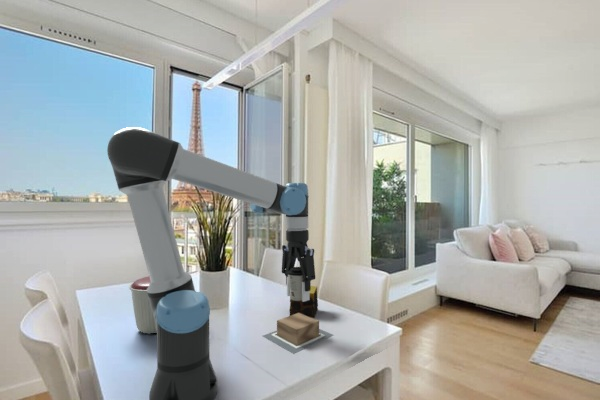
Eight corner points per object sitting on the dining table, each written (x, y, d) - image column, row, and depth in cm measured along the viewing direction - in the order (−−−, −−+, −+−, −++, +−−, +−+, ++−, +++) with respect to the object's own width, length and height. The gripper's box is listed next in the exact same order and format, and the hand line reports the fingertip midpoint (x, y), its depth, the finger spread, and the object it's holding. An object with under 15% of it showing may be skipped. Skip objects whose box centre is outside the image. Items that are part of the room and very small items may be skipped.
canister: (194, 321, 118) (194, 265, 117) (161, 342, 100) (160, 278, 100) (155, 316, 122) (154, 263, 122) (117, 336, 105) (116, 274, 105)
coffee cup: (290, 302, 99) (289, 271, 99) (285, 296, 106) (285, 267, 105) (310, 300, 101) (310, 270, 101) (304, 294, 107) (304, 265, 107)
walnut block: (296, 345, 96) (296, 329, 96) (277, 335, 104) (276, 320, 104) (319, 335, 103) (319, 320, 103) (299, 326, 110) (298, 312, 110)
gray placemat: (293, 355, 91) (293, 353, 91) (262, 337, 103) (262, 335, 103) (333, 336, 103) (333, 334, 103) (301, 322, 115) (301, 320, 115)
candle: (314, 319, 118) (314, 293, 118) (289, 317, 120) (288, 292, 120) (318, 309, 128) (318, 286, 128) (294, 308, 130) (294, 284, 130)
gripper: (326, 230, 98) (327, 302, 98) (286, 226, 113) (287, 289, 113) (309, 232, 93) (310, 308, 93) (270, 228, 108) (271, 293, 108)
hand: (298, 297), depth 103 cm, fingers closed on coffee cup, 7 cm apart
